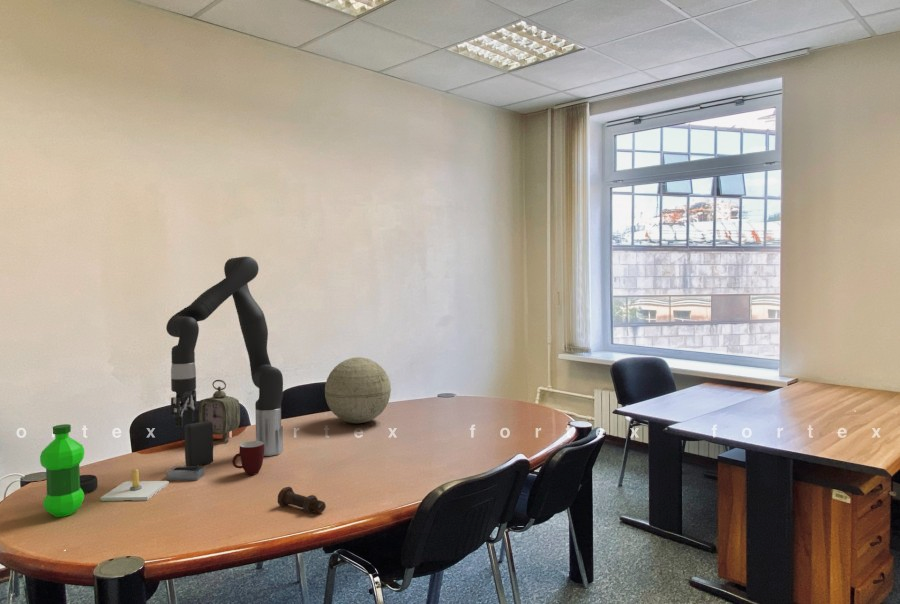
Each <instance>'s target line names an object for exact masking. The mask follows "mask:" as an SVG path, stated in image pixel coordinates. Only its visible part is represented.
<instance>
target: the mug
mask: <svg viewBox="0 0 900 604" xmlns="http://www.w3.org/2000/svg"><path fill="white" fill-rule="evenodd" d="M238 451H239V453H236V454H235V455H234V456H233V458H232V460H231V461H232V465H233V467H234V468H236V469H243V471H244V473H246V475H248V476H254V475H257V474H259V472H260V471H261V469H262V467H263V463H264V458H265V456H264V442H262V441H256V440H250V441H245V442H242V443H240V444H239V450H238ZM238 458H240V461H241V465H237V459H238Z"/></svg>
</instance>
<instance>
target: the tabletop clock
mask: <svg viewBox="0 0 900 604" xmlns="http://www.w3.org/2000/svg"><path fill="white" fill-rule="evenodd" d="M216 382H220V383H223V385H224V387H221V386H218V387H216V386H215V383H216ZM226 387H227V383H226V382H225V381H224V380H222V379H215V380H214V381H213V382H212V388H213V389H214V390H216V391H215V392H214V393H213V394H212V396H210V397H207V398H203V399H200V400H199V403H198V404H199V405H198V422H204V421H211V422H212V423H213V435H222V439H223V438H225V439H223V441H224V443H225V444H226V443H229V439H228V433H230V432H233V431H235V430H237V429H238V428H239V426H240V423H241V407H240V406H241V405H240V401H239V399H238V398H235V397H234V396H229V395H227V393H226V391H224V390H225V389H226Z"/></svg>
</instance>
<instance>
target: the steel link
mask: <svg viewBox="0 0 900 604" xmlns="http://www.w3.org/2000/svg"><path fill="white" fill-rule="evenodd" d="M204 475H205V466H204V465H199V466H186V465H178V466H177V465H175V466H173V467H172V468H170V469H168V470H167V471H166V481H167V480H180V481H199V480H200V479H201V478H202V477H203V476H204ZM200 477H201V478H200ZM199 478H200V479H199ZM198 479H199V480H198Z"/></svg>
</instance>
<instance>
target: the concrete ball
mask: <svg viewBox="0 0 900 604" xmlns="http://www.w3.org/2000/svg"><path fill="white" fill-rule="evenodd" d="M330 371H331V372H330V373H329V375H328V376H327V378H326V380H325V381H326V382H325V386H324V396H325V401H326V404H327V406H328V408H329V410H330V411H331V412H332V414H334V416H336V417H337V418H338V419H340V420H341V421H344V422H346V423H349V424H363V423H368V422H371V421H373V420H374V419H376V418H377V417H379V416H380V415H381V414H382V413H383V412H384V410H385V409H386V408H387V406H388V404H389V402H390V398H391V391H392V388H391V381H390V378H389V375H388V374H387V372H386V370H385V369H384V368H383V366H381V365H380V364H378V362H376V361H374V360H372V359H370V358H365V357H359V356H358V357H352V358H348V359H344V360H343V361H340V362H339V363H338V364H337V365H336V366H334V368H333V369H332V370H330Z"/></svg>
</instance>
